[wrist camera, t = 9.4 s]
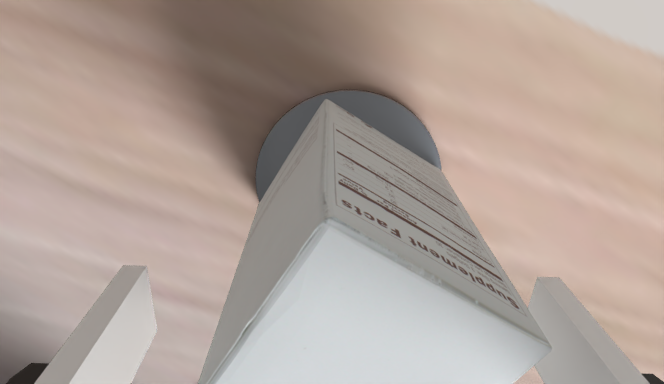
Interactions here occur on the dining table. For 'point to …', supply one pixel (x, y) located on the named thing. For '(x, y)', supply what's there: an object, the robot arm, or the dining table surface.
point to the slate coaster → (360, 104)
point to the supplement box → (367, 275)
